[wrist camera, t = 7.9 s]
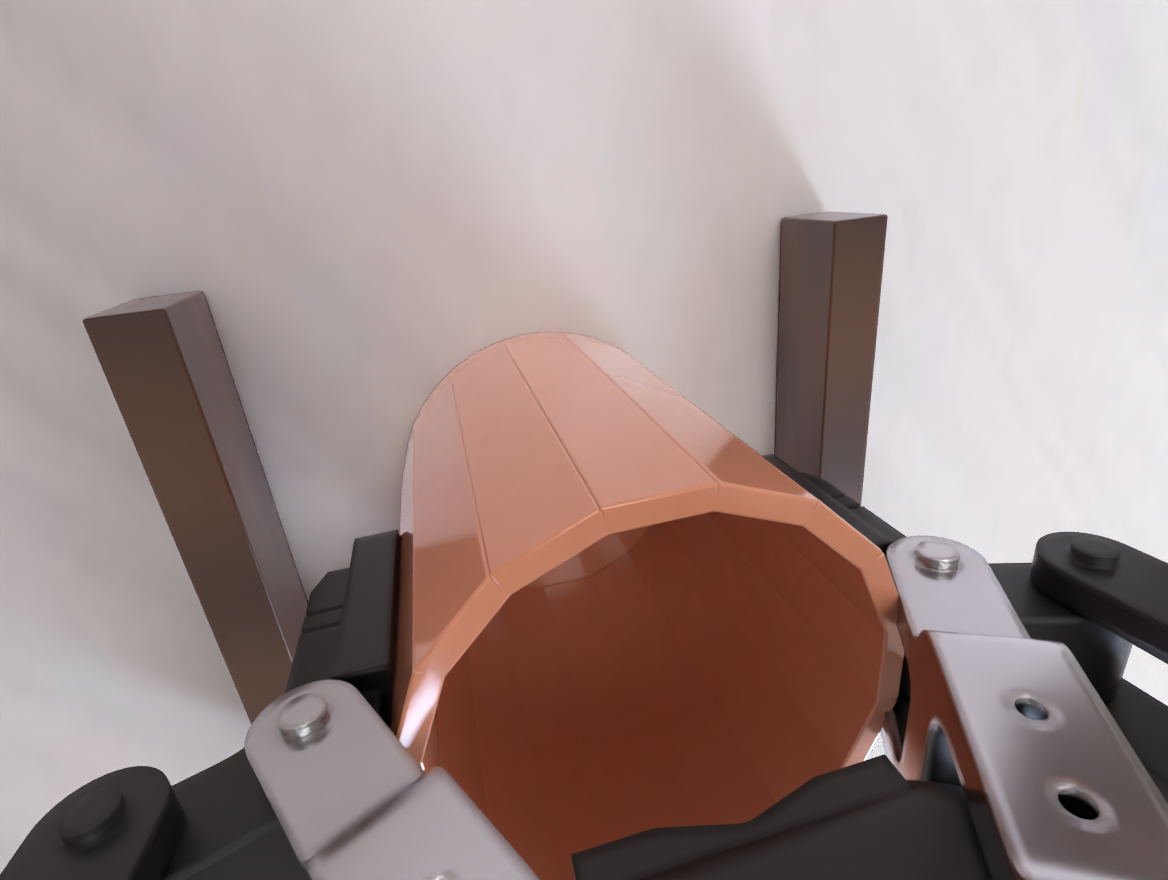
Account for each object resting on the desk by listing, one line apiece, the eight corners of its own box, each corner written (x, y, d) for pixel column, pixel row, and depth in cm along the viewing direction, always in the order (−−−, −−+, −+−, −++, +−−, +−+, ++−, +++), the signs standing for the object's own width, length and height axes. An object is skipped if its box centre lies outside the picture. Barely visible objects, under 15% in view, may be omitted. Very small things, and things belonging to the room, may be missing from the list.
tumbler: (376, 356, 13) (325, 566, 6) (669, 311, 14) (935, 436, 7) (435, 609, 15) (453, 976, 8) (679, 552, 17) (881, 827, 9)
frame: (133, 299, 11) (79, 319, 10) (828, 211, 14) (889, 214, 12) (300, 739, 16) (285, 809, 14) (806, 607, 19) (848, 652, 17)
